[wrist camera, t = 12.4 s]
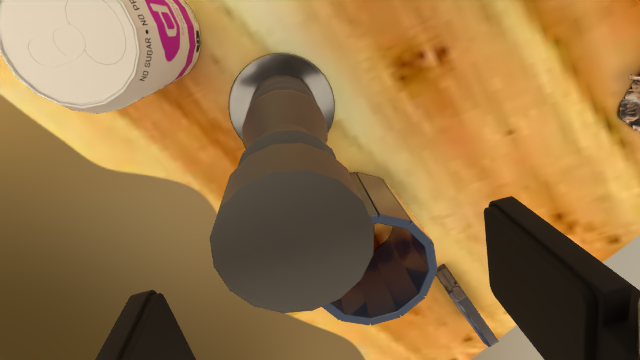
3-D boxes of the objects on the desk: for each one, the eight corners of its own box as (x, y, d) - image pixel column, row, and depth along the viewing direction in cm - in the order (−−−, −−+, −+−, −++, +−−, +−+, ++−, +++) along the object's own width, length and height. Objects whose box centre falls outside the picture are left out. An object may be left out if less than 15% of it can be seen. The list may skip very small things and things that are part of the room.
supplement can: (173, -33, 32) (94, -79, 18) (218, 64, 35) (178, 87, 21) (84, 4, 32) (-61, -15, 18) (136, 96, 35) (45, 140, 22)
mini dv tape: (432, 270, 46) (454, 303, 41) (443, 263, 46) (466, 295, 40) (463, 312, 49) (487, 348, 43) (473, 306, 49) (499, 341, 43)
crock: (291, 189, 40) (295, 237, 31) (392, 161, 40) (426, 200, 31) (317, 273, 45) (328, 337, 35) (409, 248, 45) (443, 305, 35)
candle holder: (246, 135, 37) (195, 312, 14) (254, 69, 35) (208, 148, 12) (310, 144, 38) (362, 324, 15) (321, 80, 36) (401, 174, 13)
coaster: (214, 69, 35) (212, 69, 35) (319, 40, 35) (320, 40, 35) (248, 167, 39) (248, 170, 38) (343, 141, 39) (345, 143, 38)
